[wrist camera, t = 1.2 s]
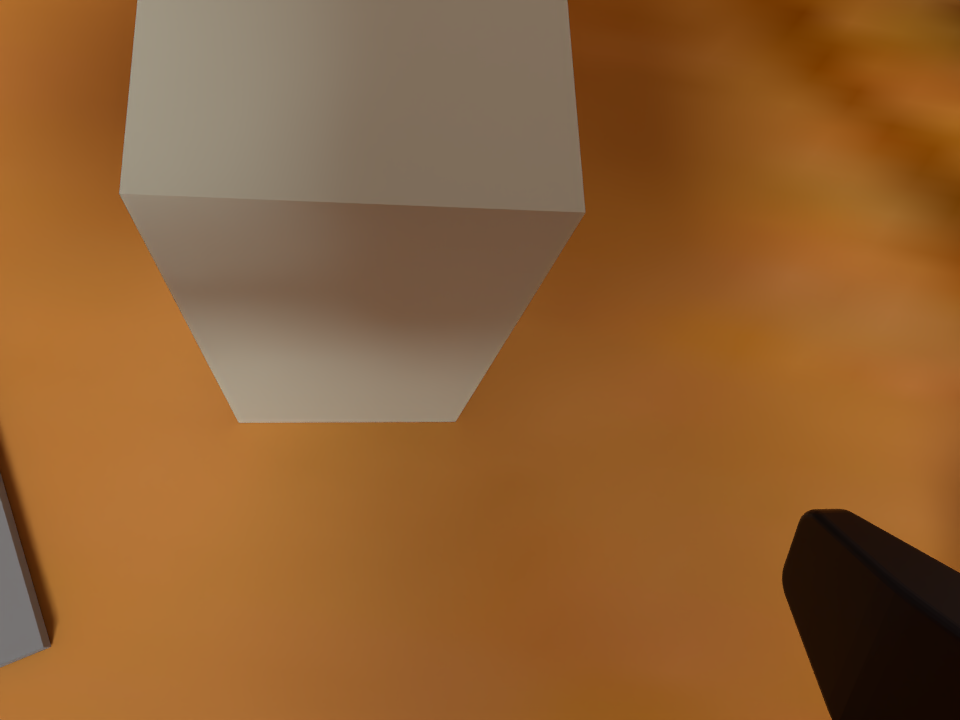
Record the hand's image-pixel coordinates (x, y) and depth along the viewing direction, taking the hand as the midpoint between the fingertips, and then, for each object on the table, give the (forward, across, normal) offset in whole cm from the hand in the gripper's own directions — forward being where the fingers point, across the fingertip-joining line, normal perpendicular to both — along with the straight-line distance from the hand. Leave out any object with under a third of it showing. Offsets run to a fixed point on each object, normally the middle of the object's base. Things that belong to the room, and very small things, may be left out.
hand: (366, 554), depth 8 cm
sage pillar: (+14, 0, +4) cm, 15 cm away
